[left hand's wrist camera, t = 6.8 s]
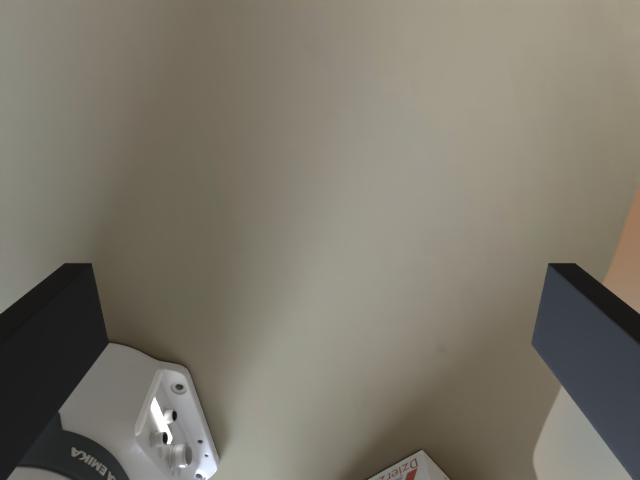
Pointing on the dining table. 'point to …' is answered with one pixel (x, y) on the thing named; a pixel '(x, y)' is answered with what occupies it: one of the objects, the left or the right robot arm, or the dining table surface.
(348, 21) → the dining table surface
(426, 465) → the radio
